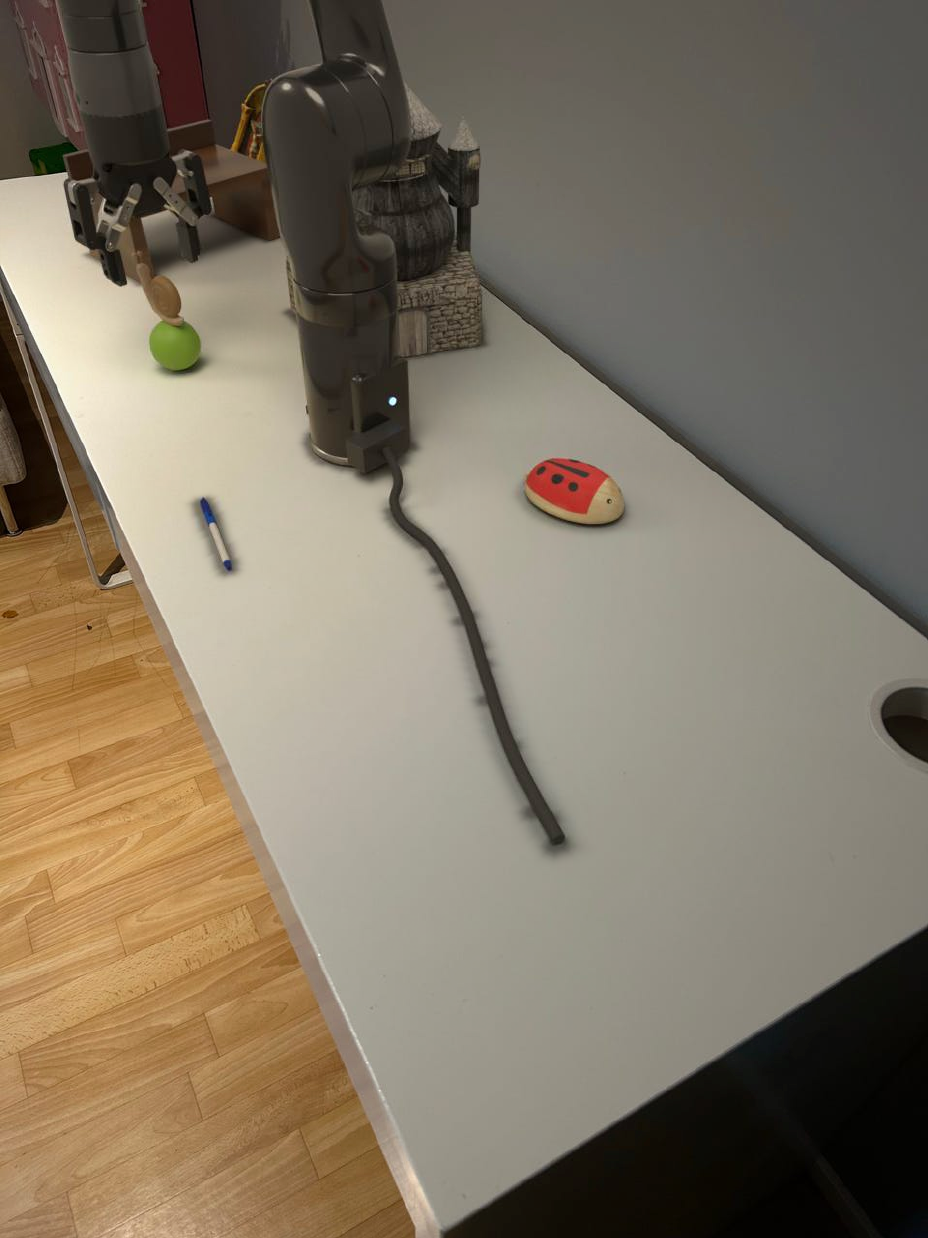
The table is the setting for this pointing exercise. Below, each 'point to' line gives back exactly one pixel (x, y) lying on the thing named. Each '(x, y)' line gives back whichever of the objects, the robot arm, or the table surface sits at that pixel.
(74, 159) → the miniature wooden bench
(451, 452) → the table surface
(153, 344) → the snail figurine
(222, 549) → the ballpoint pen
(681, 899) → the table surface
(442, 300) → the miniature castle
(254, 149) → the shrine
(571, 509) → the ladybug figurine
